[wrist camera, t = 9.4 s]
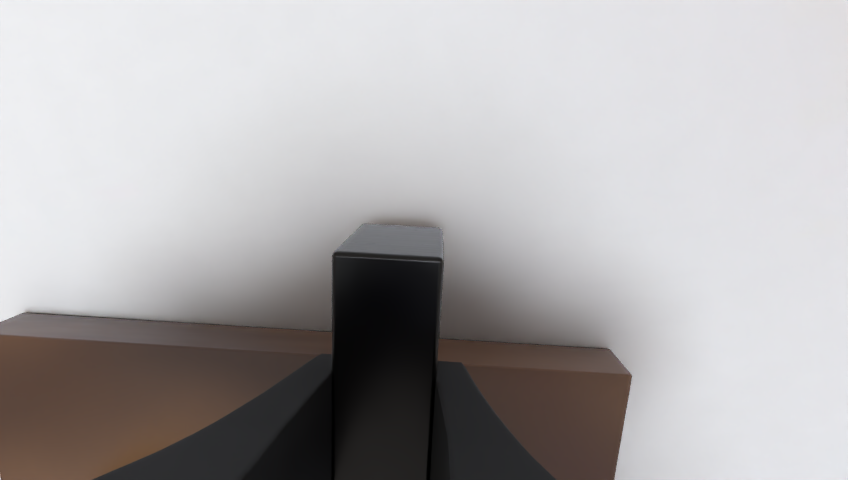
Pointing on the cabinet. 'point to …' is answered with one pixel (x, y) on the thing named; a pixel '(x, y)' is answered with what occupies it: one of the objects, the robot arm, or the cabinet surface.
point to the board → (260, 391)
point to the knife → (385, 351)
